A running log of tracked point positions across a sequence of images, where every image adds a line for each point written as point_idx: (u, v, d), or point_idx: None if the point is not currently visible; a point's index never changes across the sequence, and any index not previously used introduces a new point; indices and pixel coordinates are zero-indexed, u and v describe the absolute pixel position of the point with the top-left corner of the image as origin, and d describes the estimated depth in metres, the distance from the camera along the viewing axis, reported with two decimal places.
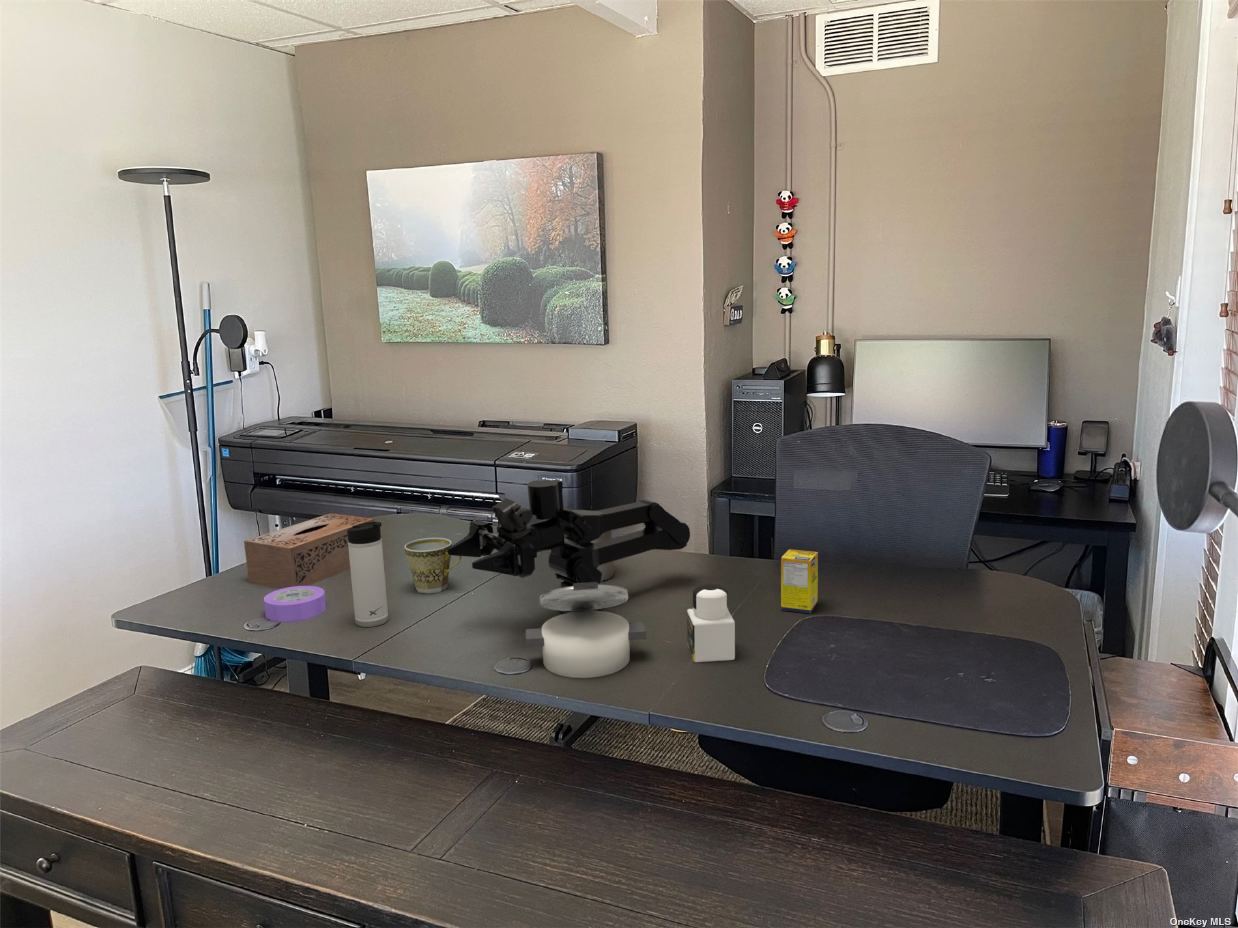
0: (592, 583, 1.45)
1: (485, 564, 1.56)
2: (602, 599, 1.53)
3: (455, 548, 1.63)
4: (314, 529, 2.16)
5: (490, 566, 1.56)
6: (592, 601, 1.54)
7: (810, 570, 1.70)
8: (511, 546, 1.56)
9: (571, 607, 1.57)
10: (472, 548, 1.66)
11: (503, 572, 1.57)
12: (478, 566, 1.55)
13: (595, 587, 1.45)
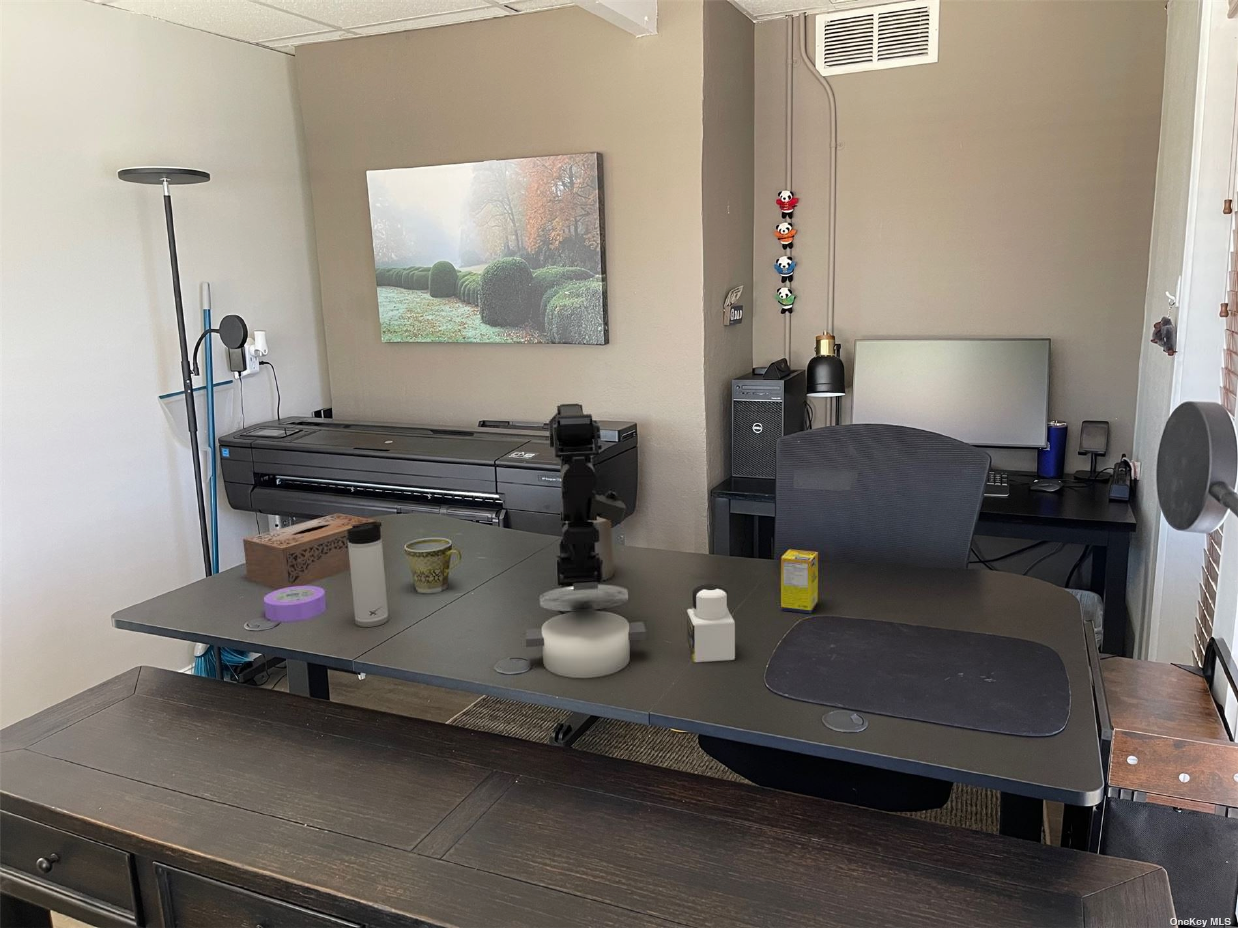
0: (592, 583, 1.45)
1: None
2: (602, 599, 1.53)
3: None
4: (319, 529, 2.17)
5: None
6: (592, 601, 1.54)
7: (810, 570, 1.70)
8: None
9: (571, 607, 1.57)
10: None
11: None
12: None
13: (595, 587, 1.45)
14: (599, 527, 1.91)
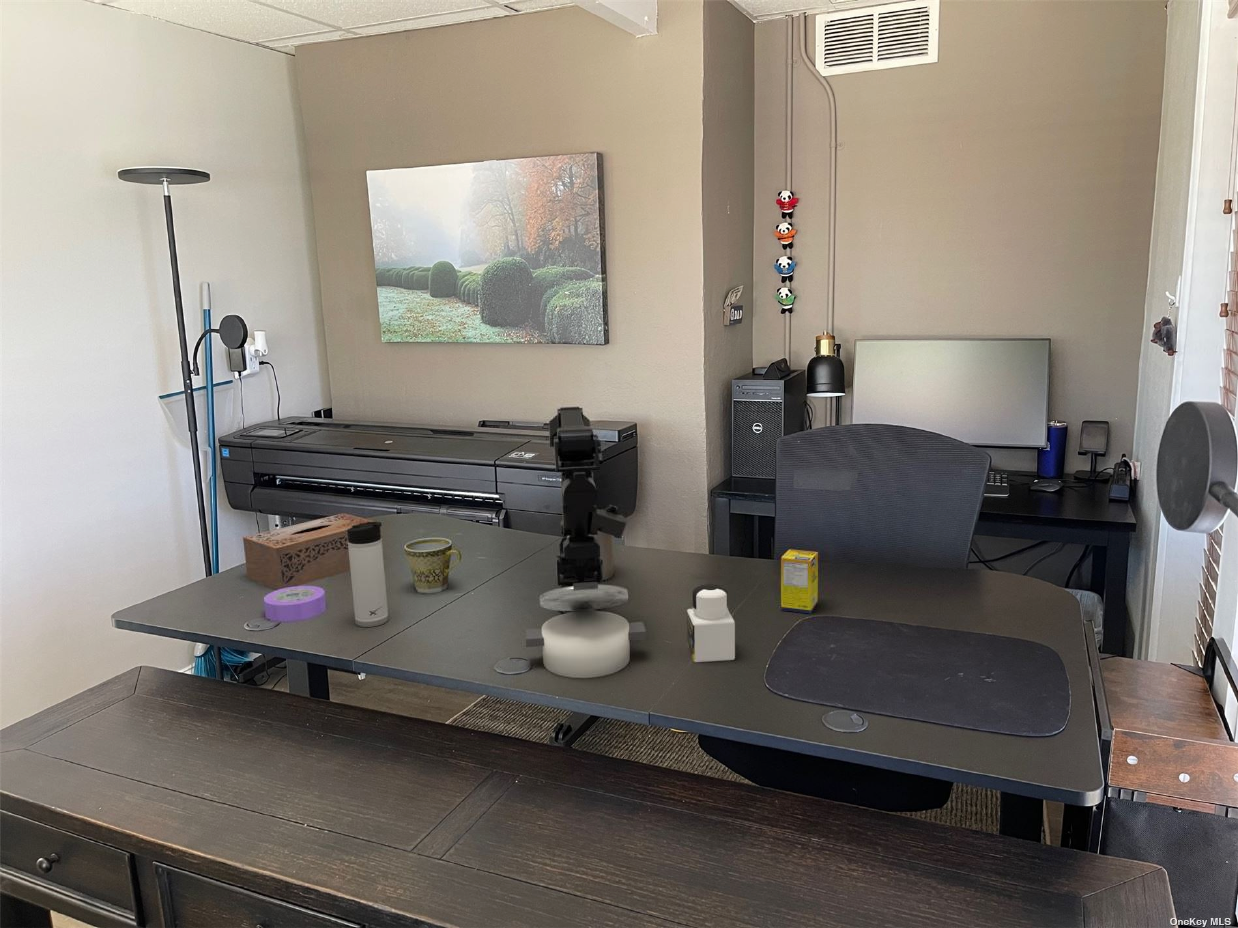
0: (592, 583, 1.45)
1: None
2: (602, 599, 1.53)
3: None
4: None
5: None
6: (592, 601, 1.54)
7: (810, 570, 1.70)
8: None
9: (571, 607, 1.57)
10: None
11: None
12: None
13: (595, 587, 1.45)
14: None
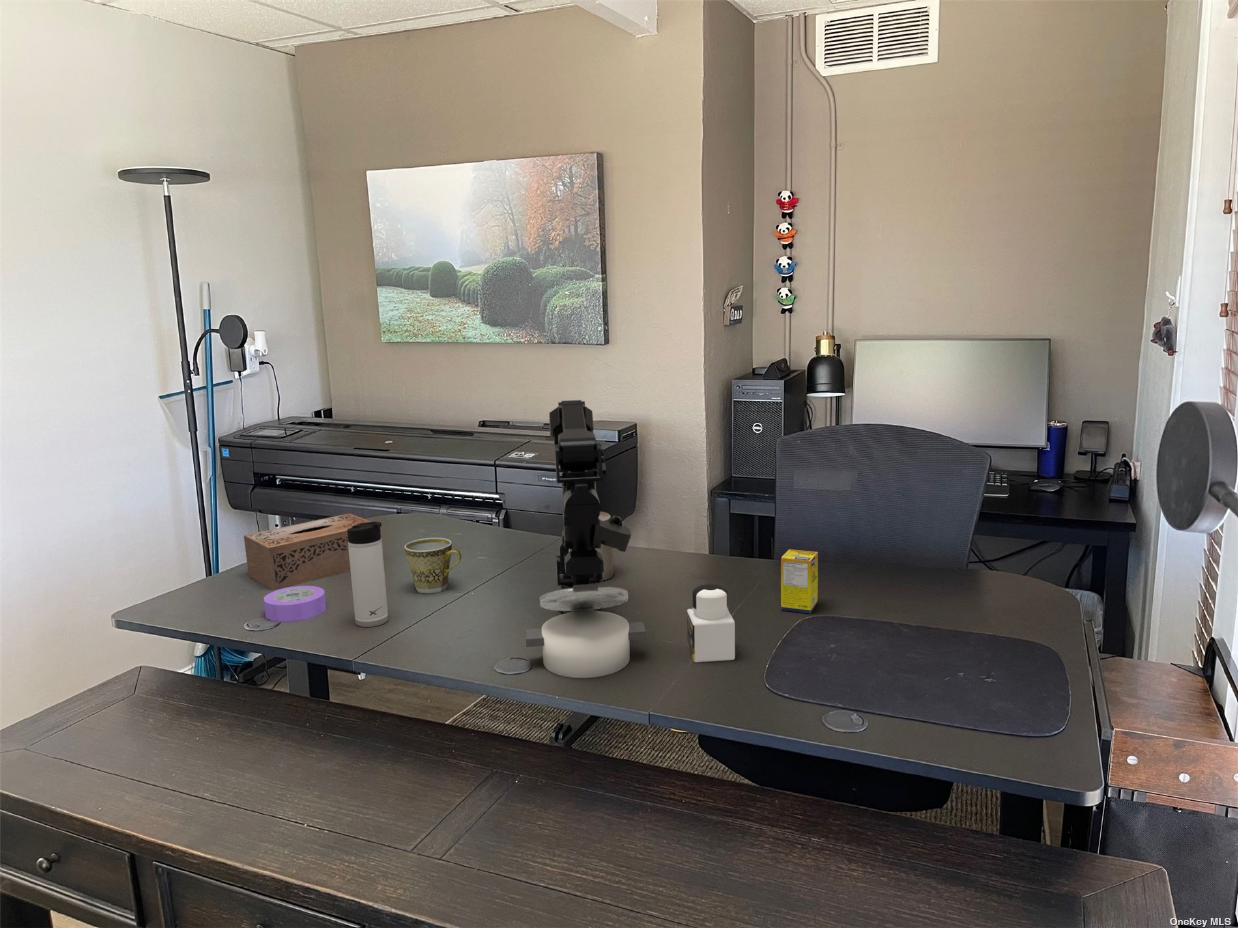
0: (592, 585, 1.45)
1: None
2: (602, 600, 1.53)
3: None
4: None
5: None
6: (592, 602, 1.54)
7: (810, 570, 1.70)
8: None
9: (571, 607, 1.57)
10: None
11: None
12: None
13: (595, 589, 1.45)
14: None
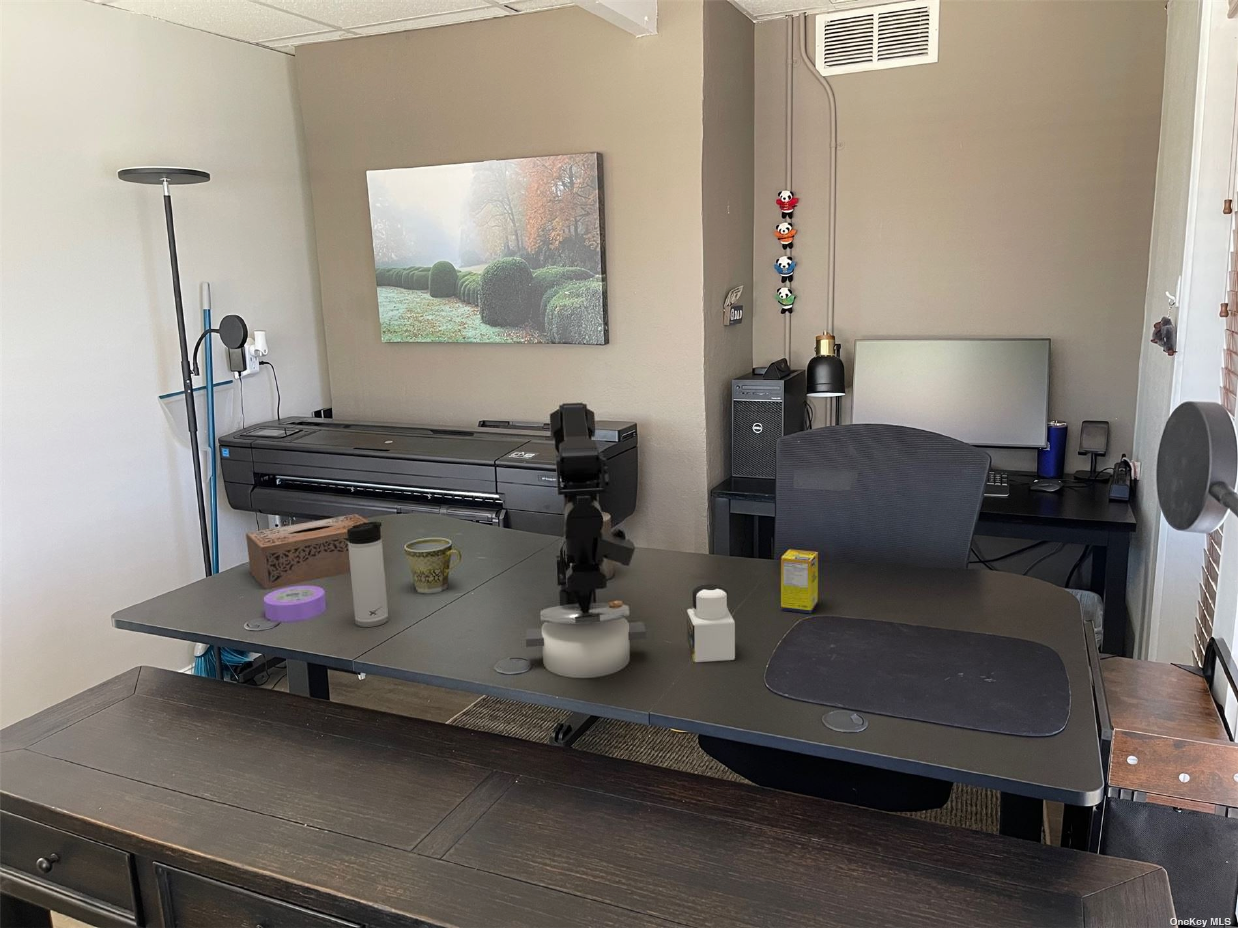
0: (594, 618, 1.44)
1: None
2: None
3: None
4: None
5: None
6: None
7: (810, 570, 1.70)
8: None
9: None
10: None
11: None
12: None
13: None
14: None
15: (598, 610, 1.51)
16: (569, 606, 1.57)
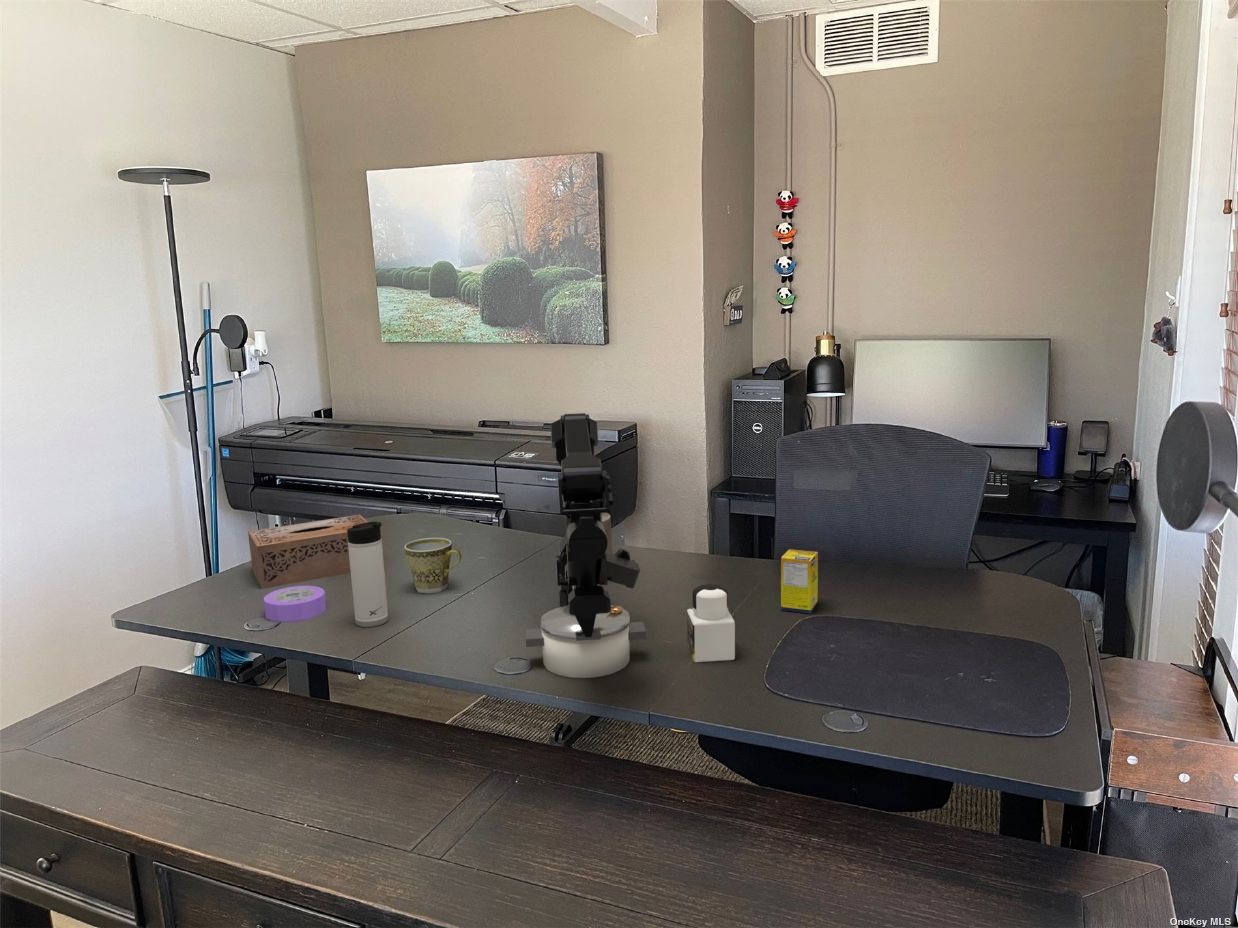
0: (595, 636, 1.44)
1: None
2: None
3: None
4: None
5: None
6: None
7: (810, 570, 1.70)
8: None
9: None
10: None
11: None
12: None
13: None
14: None
15: (599, 620, 1.51)
16: None
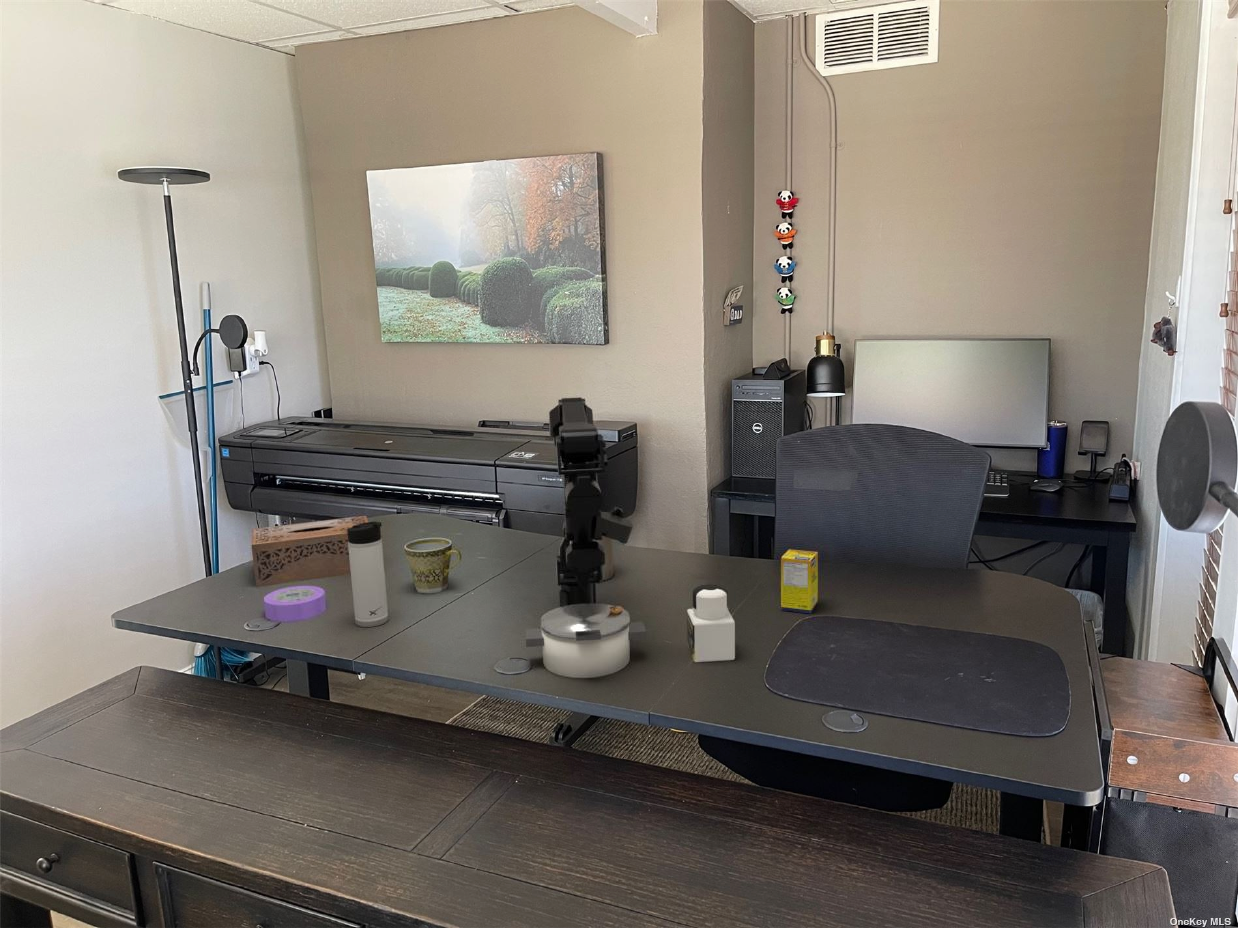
0: (595, 636, 1.44)
1: None
2: None
3: None
4: None
5: None
6: None
7: (810, 570, 1.70)
8: None
9: None
10: None
11: None
12: None
13: None
14: None
15: (599, 620, 1.51)
16: (569, 609, 1.57)
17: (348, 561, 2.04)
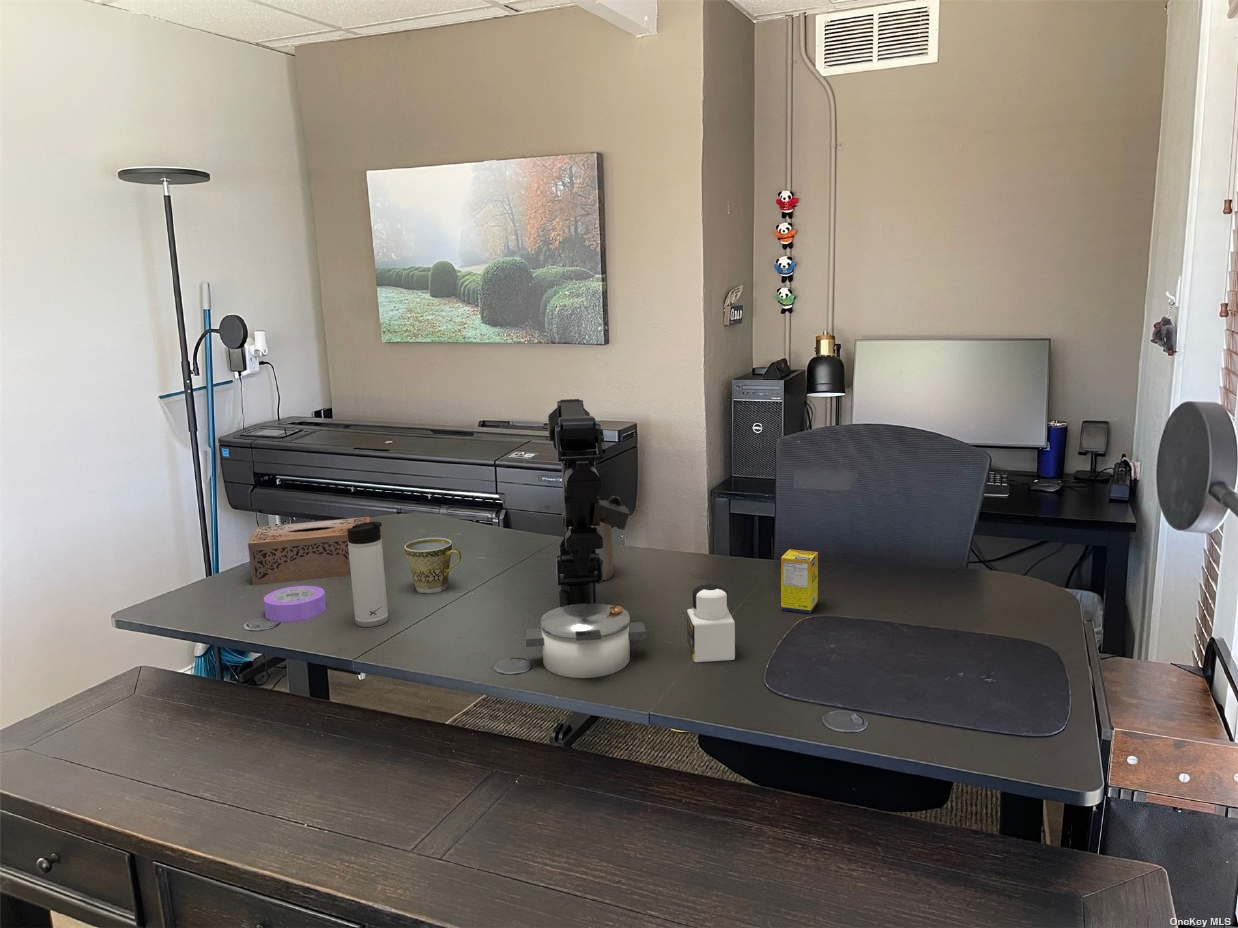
0: (595, 636, 1.44)
1: None
2: None
3: None
4: None
5: None
6: None
7: (810, 570, 1.70)
8: None
9: None
10: None
11: None
12: None
13: None
14: (599, 527, 1.91)
15: (599, 620, 1.51)
16: (569, 609, 1.57)
17: (344, 562, 2.03)
